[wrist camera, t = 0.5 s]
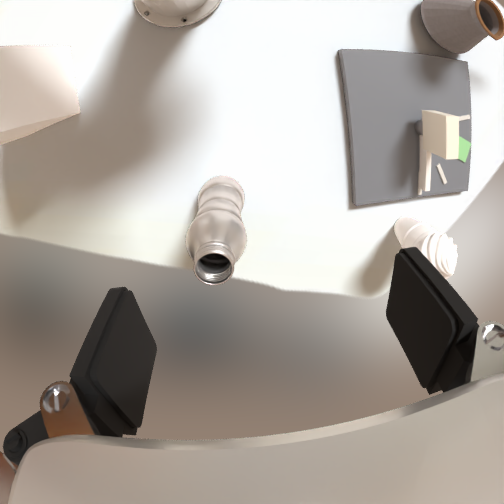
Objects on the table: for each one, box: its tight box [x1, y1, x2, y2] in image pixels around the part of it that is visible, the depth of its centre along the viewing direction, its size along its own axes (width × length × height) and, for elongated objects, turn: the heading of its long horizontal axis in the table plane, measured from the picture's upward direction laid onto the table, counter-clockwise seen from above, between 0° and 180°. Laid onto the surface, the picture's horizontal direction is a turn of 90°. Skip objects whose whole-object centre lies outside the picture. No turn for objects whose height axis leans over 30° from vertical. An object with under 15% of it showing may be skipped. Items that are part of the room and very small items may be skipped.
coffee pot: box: [421, 0, 504, 54], centre depth 22 cm, size 21×12×15 cm, turn 103°
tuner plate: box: [338, 49, 471, 206], centre depth 38 cm, size 24×24×2 cm
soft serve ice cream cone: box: [394, 215, 458, 279], centre depth 41 cm, size 8×8×16 cm
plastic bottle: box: [186, 176, 247, 285], centre depth 35 cm, size 6×7×20 cm
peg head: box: [415, 110, 459, 191], centre depth 36 cm, size 13×2×8 cm, turn 10°
